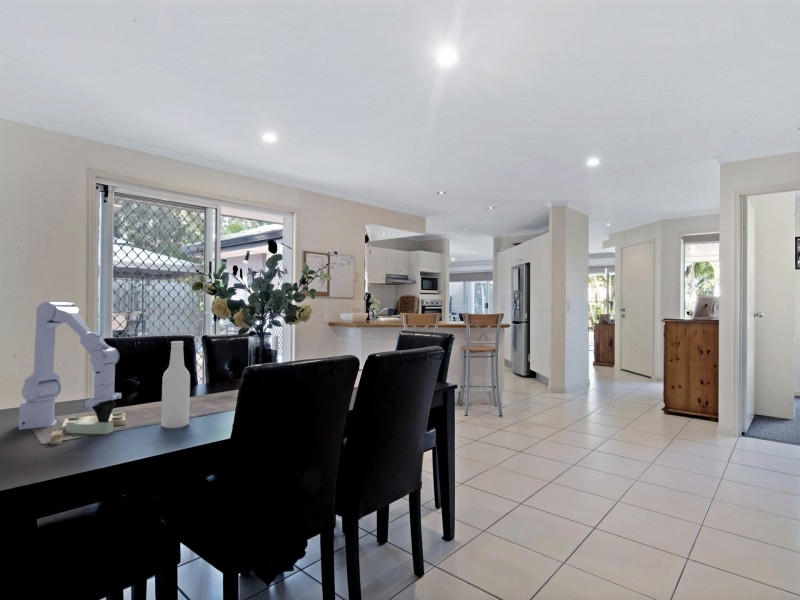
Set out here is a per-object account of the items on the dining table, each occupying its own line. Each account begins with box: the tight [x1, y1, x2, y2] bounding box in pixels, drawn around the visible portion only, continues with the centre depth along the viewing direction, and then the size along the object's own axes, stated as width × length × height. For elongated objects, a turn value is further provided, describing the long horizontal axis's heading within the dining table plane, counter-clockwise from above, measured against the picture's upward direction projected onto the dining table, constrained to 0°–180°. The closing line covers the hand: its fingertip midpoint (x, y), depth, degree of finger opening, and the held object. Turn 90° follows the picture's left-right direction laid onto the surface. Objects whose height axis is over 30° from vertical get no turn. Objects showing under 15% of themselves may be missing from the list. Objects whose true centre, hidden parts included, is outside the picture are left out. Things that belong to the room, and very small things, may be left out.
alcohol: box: [160, 340, 191, 430], centre depth 155 cm, size 9×9×30 cm
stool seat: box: [49, 411, 127, 446], centre depth 147 cm, size 19×27×3 cm
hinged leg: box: [65, 421, 114, 435], centre depth 144 cm, size 15×3×3 cm, turn 88°
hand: (103, 424), depth 147 cm, fingers closed
